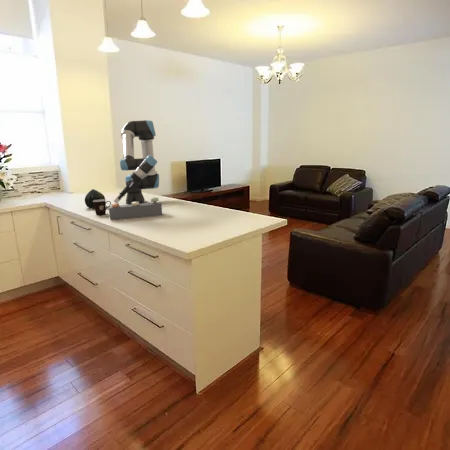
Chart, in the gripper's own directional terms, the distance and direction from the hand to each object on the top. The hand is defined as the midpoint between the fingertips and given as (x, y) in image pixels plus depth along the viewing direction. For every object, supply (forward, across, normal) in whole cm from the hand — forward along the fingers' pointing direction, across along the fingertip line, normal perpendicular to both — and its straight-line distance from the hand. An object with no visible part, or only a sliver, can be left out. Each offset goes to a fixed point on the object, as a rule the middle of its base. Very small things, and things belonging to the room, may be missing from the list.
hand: (115, 202), depth 225 cm
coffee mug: (+16, +18, 0) cm, 23 cm away
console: (-1, 0, -17) cm, 17 cm away
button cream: (-6, 0, -12) cm, 14 cm away
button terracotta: (+4, 0, -3) cm, 5 cm away
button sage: (-15, 0, -21) cm, 26 cm away
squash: (+21, +44, +6) cm, 49 cm away
